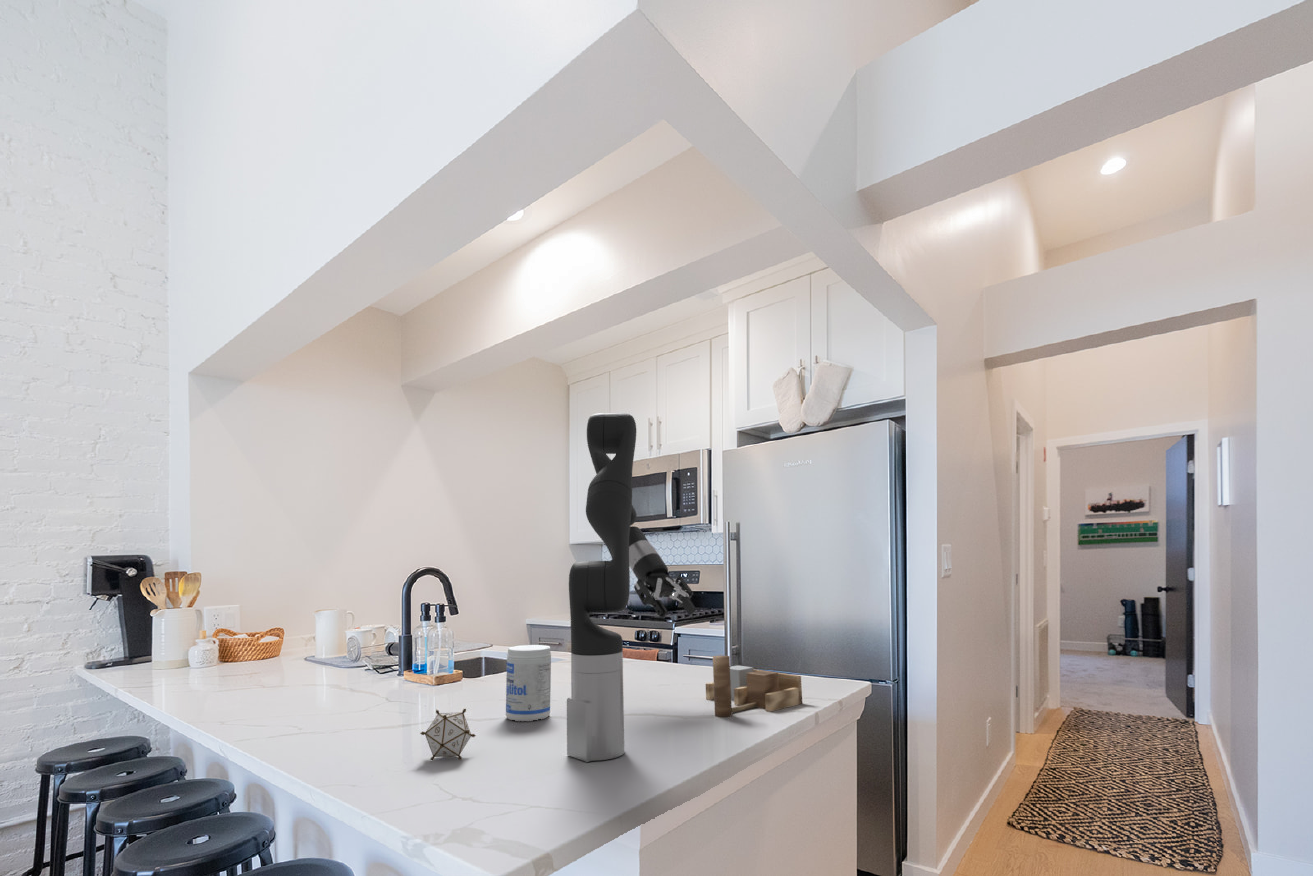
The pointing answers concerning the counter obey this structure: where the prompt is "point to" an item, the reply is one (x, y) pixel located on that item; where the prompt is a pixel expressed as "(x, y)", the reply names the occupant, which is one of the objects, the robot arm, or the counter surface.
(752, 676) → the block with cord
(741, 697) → the lane shelf
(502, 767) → the counter surface
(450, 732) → the game die
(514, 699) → the supplement tub
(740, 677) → the grey block
